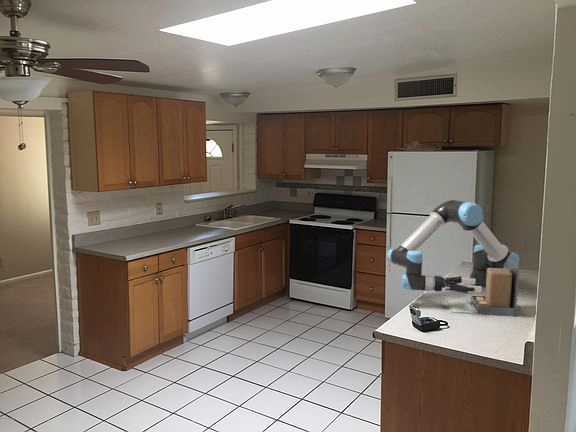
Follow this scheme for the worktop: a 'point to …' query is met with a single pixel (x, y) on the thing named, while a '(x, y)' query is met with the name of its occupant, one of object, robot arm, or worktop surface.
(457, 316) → the worktop surface
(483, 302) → the upper offcut
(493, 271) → the wooden block
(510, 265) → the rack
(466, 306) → the mat
